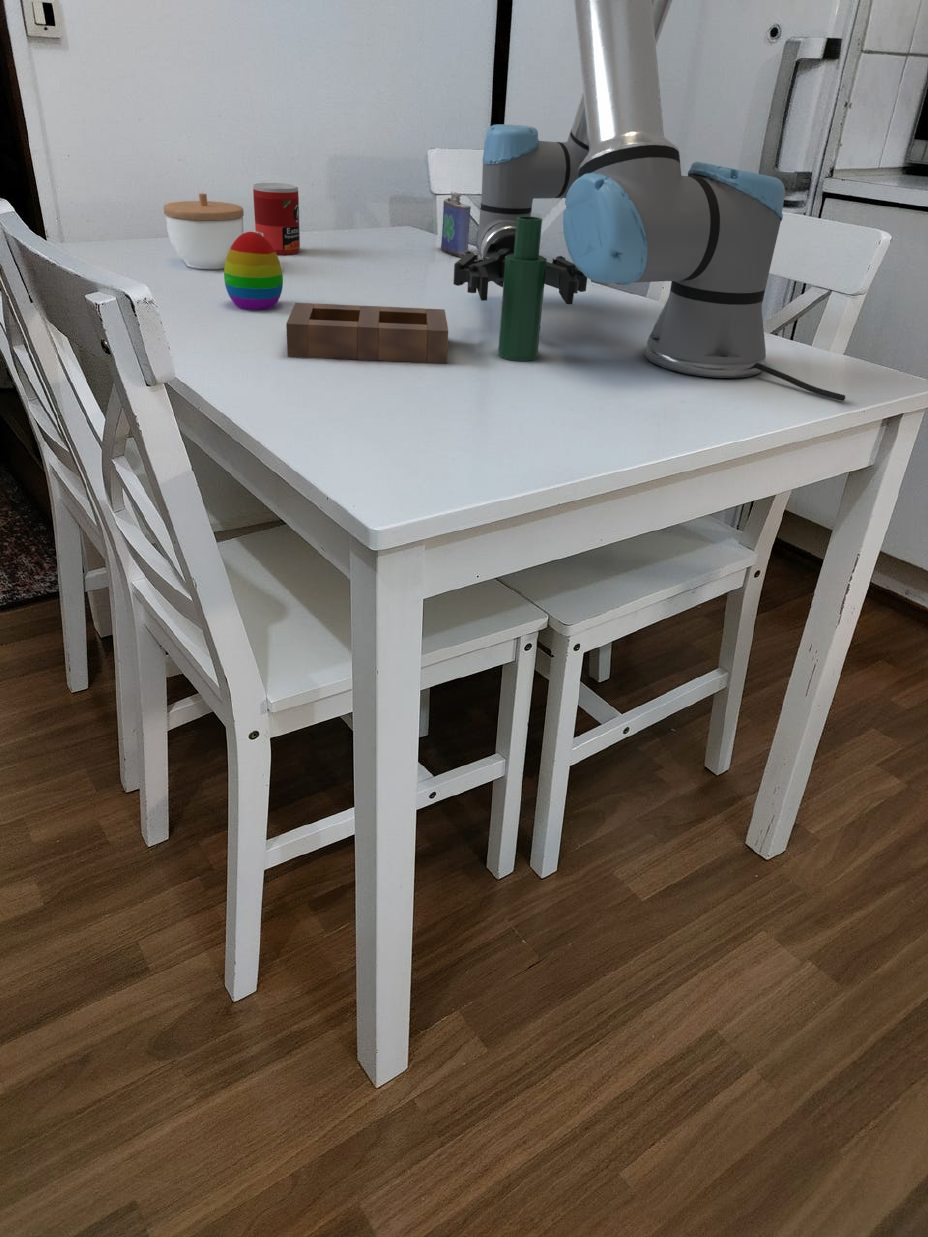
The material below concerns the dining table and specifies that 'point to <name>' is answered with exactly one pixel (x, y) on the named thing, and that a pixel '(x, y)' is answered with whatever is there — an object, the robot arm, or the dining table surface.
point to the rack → (367, 333)
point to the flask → (455, 226)
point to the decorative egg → (253, 273)
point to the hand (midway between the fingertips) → (527, 290)
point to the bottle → (522, 293)
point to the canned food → (278, 216)
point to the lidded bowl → (203, 230)
